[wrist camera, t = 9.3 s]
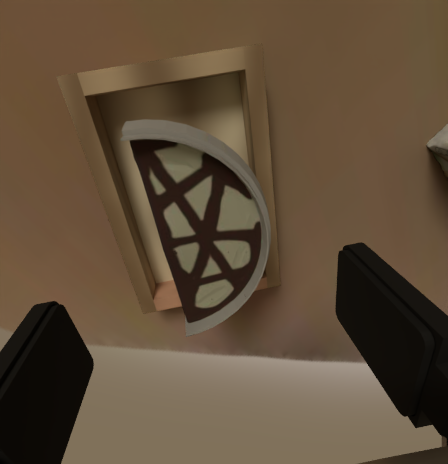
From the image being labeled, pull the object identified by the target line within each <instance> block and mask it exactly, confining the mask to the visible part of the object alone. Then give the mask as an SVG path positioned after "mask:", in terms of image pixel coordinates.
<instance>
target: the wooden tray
mask: <svg viewBox="0 0 448 464" xmlns="http://www.w3.org/2000/svg"><path fill="white" fill-rule="evenodd" d="M56 77H57V80H58V83H59V86H60V88H61V91H62V94H63V96H64V99H65V102H66V105H67V107H68V110H69V113H70V116H71V118H72V121H73V124H74V126H75V129H76V132H77V135H78V137H79V140H80V143H81V146H82V148H83V151H84V154H85V156H86V159H87V162H88V165H89V167H90V170H91V173H92V176H93V178H94V181H95V184H96V186H97V189H98V192H99V195H100V197H101V200H102V203H103V205H104V208H105V211H106V214H107V216H108V219H109V222H110V225H111V227H112V230H113V233H114V235H115V238H116V241H117V244H118V246H119V249H120V252H121V255H122V257H123V260H124V263H125V265H126V268H127V271H128V274H129V276H130V279H131V282H132V285H133V287H134V290H135V293H136V295H137V298H138V301H139V304H140V306H141V309H142V312H143V314H146V313H151V312H155V311H160V310H165V309H170V308H175V307H180V306H182V304H181V301H180V298H179V295H178V292H177V289H176V285H175V283H174V280H173V277H172V274H171V271H170V268H169V265H168V262H167V259H166V257H165V254H164V251H163V248H162V244H161V241H160V237H159V234H158V231H157V227H156V224H155V220H154V217H153V214H152V210H151V207H150V204H149V201H148V197H147V194H146V191H145V188H144V184H143V181H142V178H141V175H140V172H139V169H138V166H137V164H136V162H135V160H134V157H133V152H132V149H131V146H130V140H127V141H121V138H122V137H123V134H122V128H123V126H124V124H125V122H126V121H135V120H143V119H148V120H167V121H172V122H177V123H181V124H186V125H189V126H192V127H194V128H197V129H200V130H202V131H205V132H207V133H209V134H210V135H212V136H214V137H216V138H217V139H219V140H221V141H222V142H224V143H225V144H226V145H228V146H229V147H230V148H231V149H232V150H234V151H235V152H236V153H237V154H238V155H239V156H240V157H241V158H242V159H243V160H244V162H245V163H246V164H247V165H248V166H249V167H250V169H251V170H252V172H253V173H254V175H255V177H256V178H257V180H258V182H259V183H260V186H261V189H262V191H263V194H264V196H265V199H266V204H267V208H268V213H269V219H270V227H271V244H270V250H269V257H268V260H267V263H266V266H265V269H264V272H263V275H262V277H261V279H260V281H259V283H258V285H257V287H256V289H255V290H254V291H257V290H262V289H267V288H271V287H276V286H281V284H280V271H279V258H278V245H277V231H276V218H275V205H274V191H273V178H272V165H271V151H270V138H269V125H268V111H267V98H266V85H265V71H264V58H263V45H262V44H255V45H249V46H243V47H237V48H231V49H224V50H218V51H212V52H206V53H199V54H193V55H187V56H181V57H175V58H168V59H162V60H156V61H150V62H144V63H137V64H131V65H125V66H119V67H112V68H106V69H100V70H94V71H88V72H81V73H75V74H69V75H63V76H56Z"/></svg>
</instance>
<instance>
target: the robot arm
mask: <svg viewBox="0 0 448 464" xmlns="http://www.w3.org/2000/svg"><path fill="white" fill-rule="evenodd" d="M336 315H337V318H338V320H339V322H340V323H341V325H342V326H343V328H344V329H345V331H346V332H347V334H348V335H349V337H350V338H351V340H352V341H353V343H354V344H355V346H356V347H357V349H358V350H359V352H360V353H361V355H362V357H363V358H364V360H365V361H366V363H367V364H368V366H369V367H370V368H371V370H372V372H373V373H374V375H375V376H376V378H377V379H378V381H379V382H380V384H381V385H382V387H383V388H384V390H385V391H386V393H387V395H388V396H389V397H390V399H391V401H392V402H393V404H394V405H395V407H396V408H397V410H398V411H399V412H400V414H402V415H403V416H408V417H409V419H410V420H411V422H412V423H413V425H414V426H415V428H418V427H423V426H428V425H433V426H434V427H435V429H436V430H437V431H438V433H439V434H440V435H441V436H442V447H440V448H435V449H430V450H424V451H419V452H414V453H409V454H403V455H399V456H393V457H388V458H383V459H378V460H373V461H368V462H364V463H359V464H448V316H447V315H446V314H445V313H444V312H443V311H442V310H440V309H439V308H438V307H437V306H436V305H435V304H433V303H432V302H431V301H430V300H429V299H428V298H427V297H425V296H424V295H423V294H422V293H421V292H420V291H418V290H417V289H416V288H415V287H414V286H413V285H412V284H410V283H409V282H408V281H407V280H406V279H405V278H403V277H402V276H401V275H400V274H399V273H398V272H396V271H395V270H394V269H393V268H392V267H391V266H390V265H388V264H387V263H386V262H385V261H384V260H383V259H381V258H380V257H379V256H378V255H377V254H376V253H375V252H373V251H372V250H371V249H370V248H369V247H368V246H366V245H365V244H364V243H356V244H351V245H345V246H344V247H343V250H342V251H339V254H338V272H337V292H336ZM93 364H94V363H93V358H92V357H91V354H90V353H89V351H88V349H87V347H86V345H85V343H84V342H83V340H82V338H81V336H80V334H79V332H78V331H77V329H76V327H75V325H74V323H73V321H72V320H71V318H70V316H69V314H68V312H67V310H66V309H65V307H64V306H63V305H61V304H60V305H59V304H58V303H57V302H56V301H52V302H47V303H41V304H37V305H34V306H33V307H32V308H31V310H30V311H29V313H28V314H27V315H26V317H25V318H24V320H23V321H22V322H21V324H20V325H19V327H18V328H17V329H16V331H15V332H14V333H13V335H12V336H11V338H10V339H9V341H8V342H7V343H6V345H5V346H4V348H3V349H2V350H1V352H0V464H61V461H62V459H63V455H64V453H65V450H66V447H67V444H68V441H69V438H70V435H71V432H72V429H73V427H74V424H75V421H76V418H77V415H78V412H79V409H80V406H81V403H82V400H83V397H84V394H85V391H86V388H87V386H88V383H89V380H90V377H91V374H92V371H93V366H94V365H93Z"/></svg>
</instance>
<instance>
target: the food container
mask: <svg viewBox="0 0 448 464" xmlns="http://www.w3.org/2000/svg"><path fill="white" fill-rule="evenodd" d="M122 134H123V137H122V138H121V141H127V140H130V146H131V149H132V152H133V157H134V160H135V162H136V164H137V166H138V169H139V172H140V175H141V178H142V181H143V184H144V188H145V191H146V194H147V197H148V201H149V204H150V207H151V210H152V214H153V217H154V220H155V224H156V227H157V231H158V234H159V237H160V241H161V244H162V248H163V251H164V254H165V257H166V259H167V262H168V265H169V268H170V271H171V274H172V277H173V280H174V283H175V285H176V289H177V292H178V295H179V298H180V301H181V304H182V307H183V310H184V313H185V323H186V337H188V336H191V335H195V334H198V333H201V332H203V331H205V330H208V329H210V328H212V327H214V326H216V325H218V324H219V323H221V322H223V321H224V320H226V319H227V318H229V317H230V316H231V315H232V314H234V313H235V312H236V311H238V310H239V308H240V307H241V306H242V305H243V304H244V303H245V302H246V301H247V300H248V299H249V297H250V296H251V295H252V293H253V292H254V290H255V289H256V287H257V285H258V283H259V281H260V279H261V277H262V275H263V272H264V269H265V266H266V263H267V260H268V257H269V250H270V244H271V227H270V219H269V213H268V208H267V204H266V199H265V196H264V194H263V191H262V189H261V186H260V183H259V182H258V180H257V178H256V177H255V175H254V173H253V172H252V170H251V169H250V167H249V166H248V165H247V164H246V163H245V162H244V160H243V159H242V158H241V157H240V156H239V155H238V154H237V153H236V152H235V151H234V150H232V149H231V148H230V147H229V146H228V145H226V144H225V143H224V142H222V141H221V140H219V139H217V138H216V137H214V136H212V135H210V134H209V133H207V132H205V131H202V130H200V129H197V128H194V127H192V126H189V125H186V124H181V123H177V122H172V121H167V120H148V119H143V120H135V121H126V122H125V124H124V126H123V128H122Z"/></svg>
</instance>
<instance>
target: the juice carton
mask: <svg viewBox="0 0 448 464" xmlns="http://www.w3.org/2000/svg"><path fill="white" fill-rule="evenodd" d="M427 147H428V148H429V149H430V150H431V151H432V152H433V154H434V157H435V158H436V160H437V161H438V162H439V163H440V165H441V169H442V170H443V171H444V175H445V176H446V177H447V178H448V124H447V125H446V126H445V127H444V128H443V129H442V130H441V131H439V132H438V133H437V134H436V135H435V136H434V137H433V138H432V139H430V141H429V142H428V143H427Z"/></svg>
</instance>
